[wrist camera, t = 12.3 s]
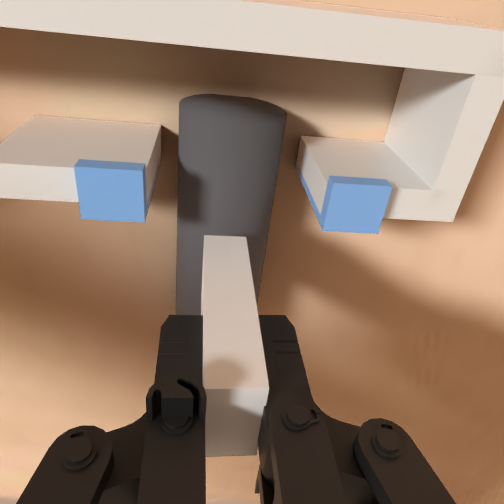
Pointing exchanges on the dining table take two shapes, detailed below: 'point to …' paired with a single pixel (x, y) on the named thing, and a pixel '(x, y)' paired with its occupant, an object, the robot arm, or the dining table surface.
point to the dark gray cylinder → (224, 182)
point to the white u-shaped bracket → (310, 148)
